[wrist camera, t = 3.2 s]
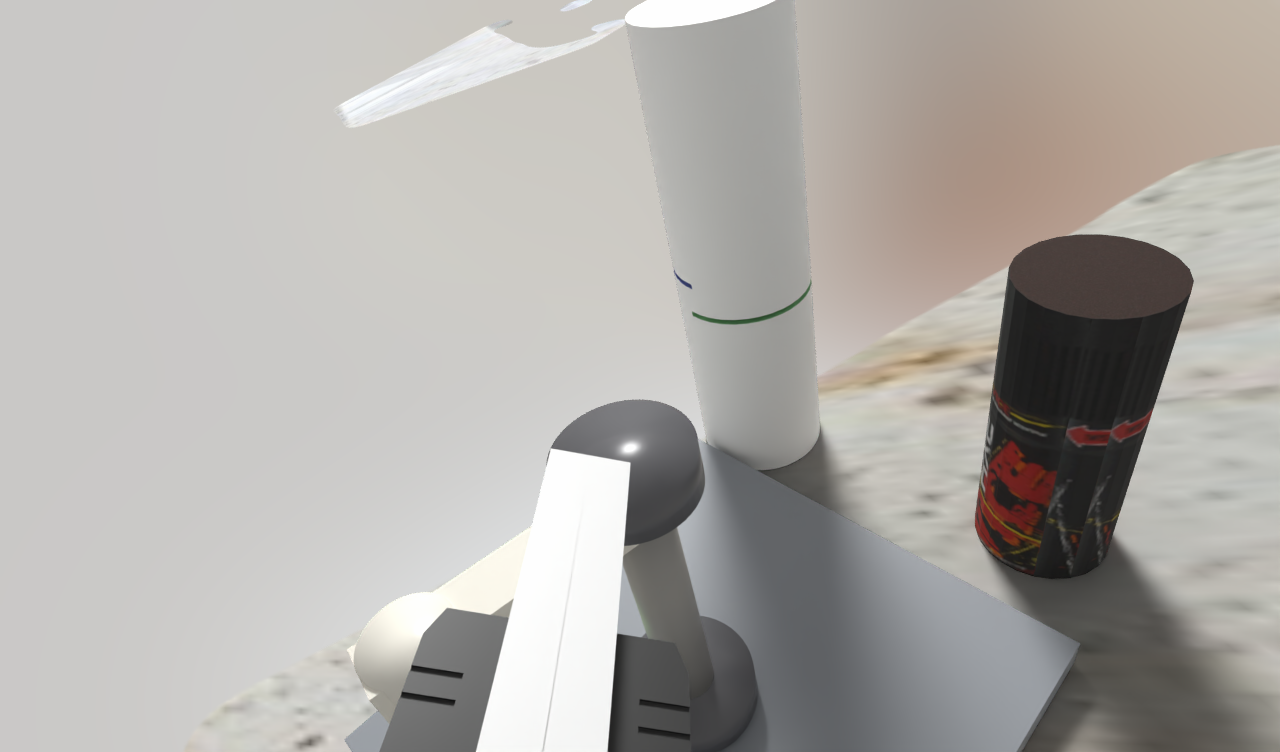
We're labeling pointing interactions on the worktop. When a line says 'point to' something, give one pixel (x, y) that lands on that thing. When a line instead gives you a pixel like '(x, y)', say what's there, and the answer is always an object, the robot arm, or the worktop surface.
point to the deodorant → (1074, 396)
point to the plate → (849, 631)
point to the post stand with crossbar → (651, 561)
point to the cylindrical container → (735, 213)
